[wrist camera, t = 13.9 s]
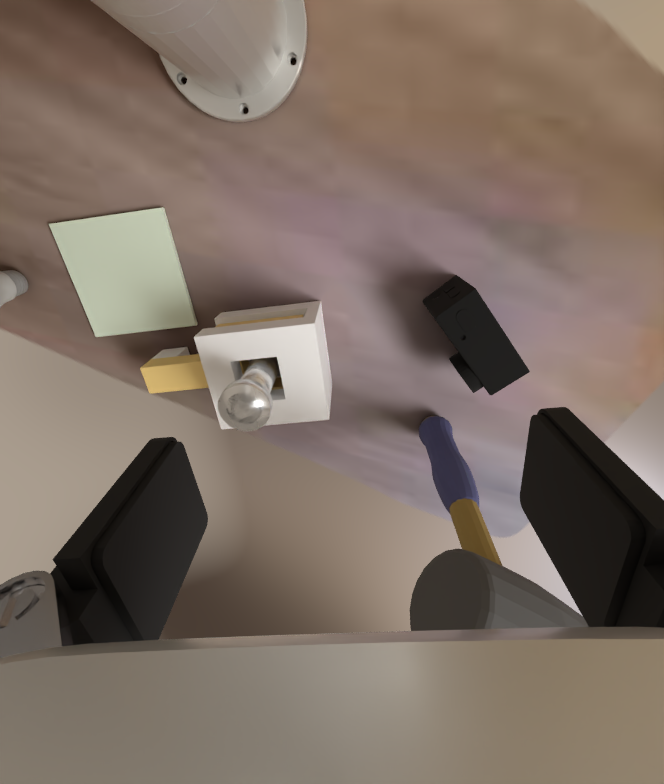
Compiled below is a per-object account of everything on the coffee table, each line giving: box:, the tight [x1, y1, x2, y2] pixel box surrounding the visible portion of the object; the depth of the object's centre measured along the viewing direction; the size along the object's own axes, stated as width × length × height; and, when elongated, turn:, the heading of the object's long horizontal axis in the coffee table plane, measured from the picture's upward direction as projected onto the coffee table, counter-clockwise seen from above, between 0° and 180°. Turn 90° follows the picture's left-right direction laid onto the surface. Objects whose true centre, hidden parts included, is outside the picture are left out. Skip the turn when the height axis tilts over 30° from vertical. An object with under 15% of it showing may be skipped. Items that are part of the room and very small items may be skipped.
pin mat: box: [49, 207, 198, 337], centre depth 41 cm, size 12×12×1 cm
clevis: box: [140, 301, 332, 429], centre depth 41 cm, size 10×19×8 cm, turn 97°
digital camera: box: [423, 275, 530, 395], centre depth 39 cm, size 10×5×7 cm, turn 40°
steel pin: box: [218, 357, 280, 431], centre depth 38 cm, size 4×4×14 cm
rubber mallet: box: [410, 416, 589, 631], centre depth 35 cm, size 12×8×30 cm, turn 55°
